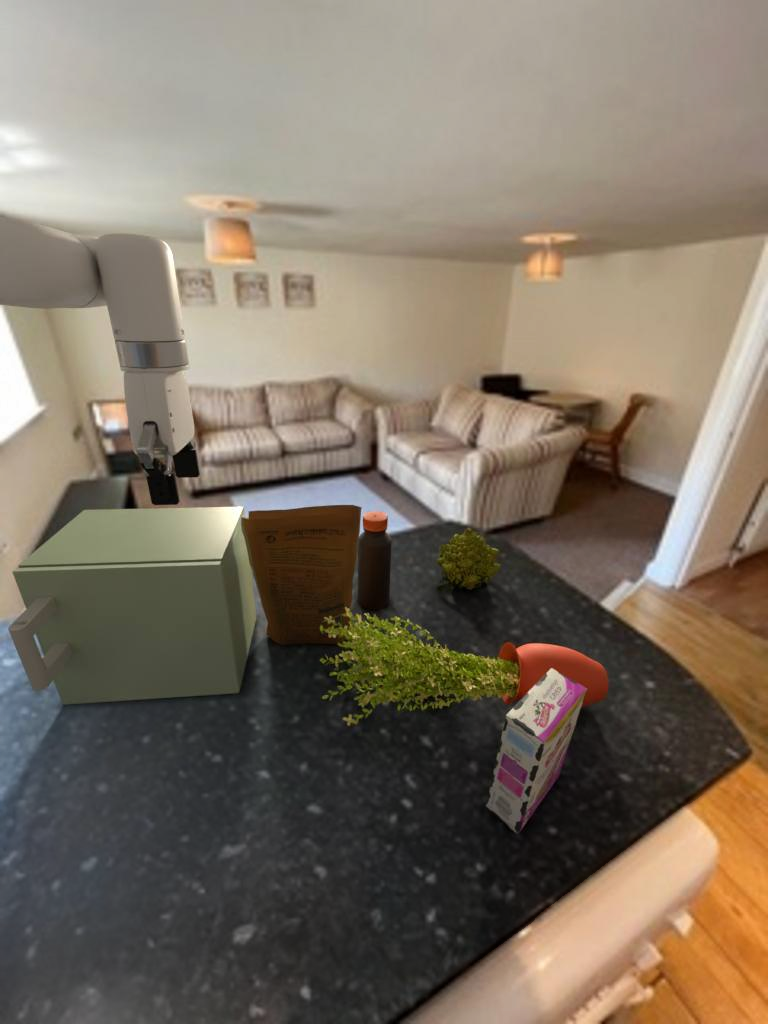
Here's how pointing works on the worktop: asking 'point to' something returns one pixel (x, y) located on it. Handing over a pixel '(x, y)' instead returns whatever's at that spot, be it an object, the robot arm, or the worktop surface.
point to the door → (126, 631)
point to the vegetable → (467, 561)
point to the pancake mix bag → (303, 568)
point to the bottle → (374, 561)
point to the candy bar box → (534, 747)
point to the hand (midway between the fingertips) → (178, 489)
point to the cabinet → (163, 551)
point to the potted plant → (449, 667)
